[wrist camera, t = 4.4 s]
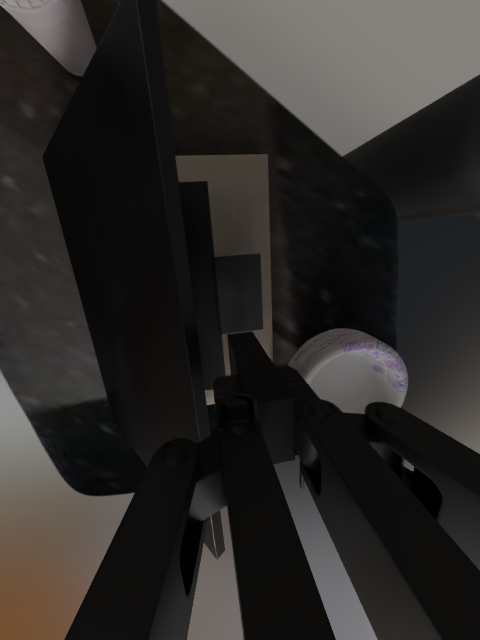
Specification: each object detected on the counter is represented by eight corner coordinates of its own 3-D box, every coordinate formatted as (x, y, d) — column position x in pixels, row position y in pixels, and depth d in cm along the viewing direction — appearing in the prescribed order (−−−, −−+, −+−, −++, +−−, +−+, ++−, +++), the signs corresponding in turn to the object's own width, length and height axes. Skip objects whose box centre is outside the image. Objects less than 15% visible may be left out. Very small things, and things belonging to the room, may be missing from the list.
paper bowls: (263, 402, 38) (279, 442, 30) (296, 309, 34) (324, 328, 27) (346, 415, 41) (379, 453, 34) (384, 333, 38) (430, 355, 30)
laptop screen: (157, -8, 9) (132, -25, 8) (226, 549, 18) (216, 560, 17) (53, 157, 23) (42, 156, 23) (121, 418, 32) (114, 422, 32)
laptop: (263, 159, 28) (268, 153, 26) (270, 387, 37) (274, 394, 35) (63, 163, 25) (53, 157, 23) (125, 410, 34) (121, 419, 32)
